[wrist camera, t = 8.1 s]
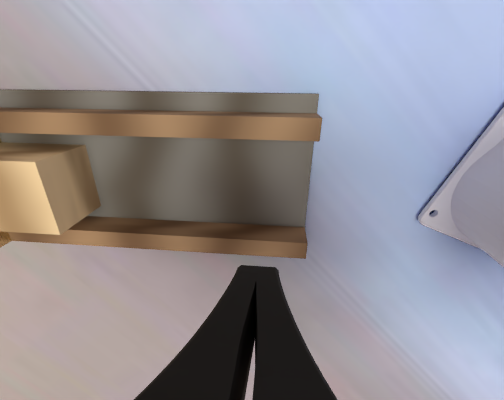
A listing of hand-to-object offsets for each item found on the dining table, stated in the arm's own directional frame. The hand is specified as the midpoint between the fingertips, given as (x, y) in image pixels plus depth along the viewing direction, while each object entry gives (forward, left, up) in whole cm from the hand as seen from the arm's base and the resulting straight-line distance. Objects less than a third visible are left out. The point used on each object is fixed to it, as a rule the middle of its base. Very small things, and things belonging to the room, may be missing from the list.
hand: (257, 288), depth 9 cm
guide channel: (+2, -8, -9) cm, 13 cm away
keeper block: (+5, -14, -9) cm, 18 cm away
